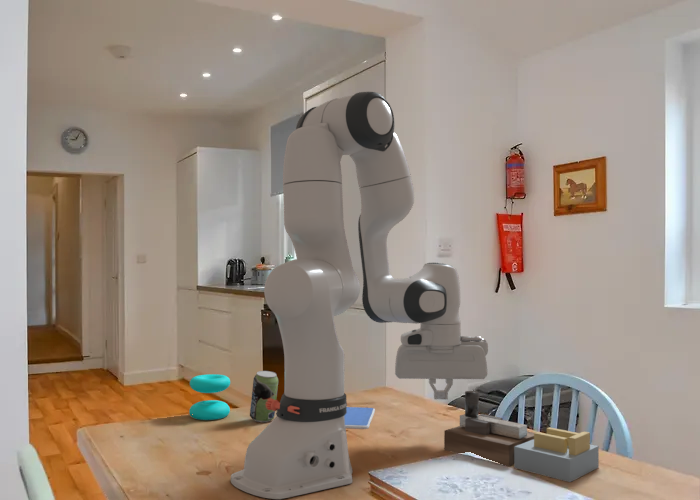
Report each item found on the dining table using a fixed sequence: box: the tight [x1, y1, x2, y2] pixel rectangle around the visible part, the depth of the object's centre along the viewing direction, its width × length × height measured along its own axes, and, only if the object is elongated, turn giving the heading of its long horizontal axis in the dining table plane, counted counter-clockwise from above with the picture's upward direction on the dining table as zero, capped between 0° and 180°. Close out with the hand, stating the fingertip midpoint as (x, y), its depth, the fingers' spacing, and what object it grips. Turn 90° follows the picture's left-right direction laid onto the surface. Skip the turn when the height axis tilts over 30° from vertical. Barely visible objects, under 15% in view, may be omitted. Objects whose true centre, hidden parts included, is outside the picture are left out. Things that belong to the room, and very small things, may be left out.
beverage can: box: [249, 370, 279, 423], centre depth 153 cm, size 6×7×12 cm
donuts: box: [188, 373, 231, 421], centre depth 157 cm, size 10×10×10 cm
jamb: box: [443, 413, 535, 467], centre depth 128 cm, size 12×15×6 cm
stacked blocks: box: [513, 427, 600, 483], centre depth 118 cm, size 12×11×7 cm
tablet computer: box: [344, 406, 376, 430], centre depth 156 cm, size 19×13×1 cm, turn 173°
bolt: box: [459, 390, 528, 439], centre depth 128 cm, size 3×14×7 cm, turn 45°
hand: (440, 399), depth 138 cm, fingers closed
